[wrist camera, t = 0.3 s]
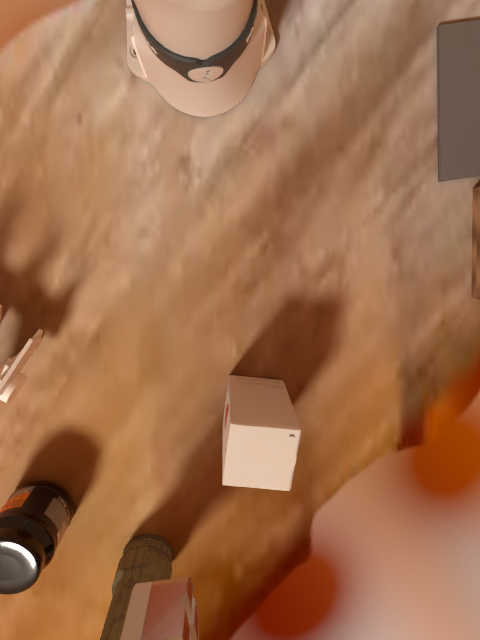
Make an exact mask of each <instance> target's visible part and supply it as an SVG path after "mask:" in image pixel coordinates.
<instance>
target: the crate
mask: <svg viewBox="0 0 480 640" xmlns="http://www.w3.org/2000/svg"><path fill="white" fill-rule="evenodd" d="M472 297H473V298H476V299H479V300H480V187H476V188H473V231H472Z"/></svg>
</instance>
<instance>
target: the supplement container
mask: <svg viewBox="0 0 480 640" xmlns="http://www.w3.org/2000/svg"><path fill="white" fill-rule="evenodd" d="M72 516H73V505H72V502H71V499H70V498H69V496H68V495H67V493H66V492H65V491H64V490H62V489H61V488H60V487H58V486H56V485H54V484H51V483H47V482H31V483H28V484H25V485H23V486H21V487H20V488H18V489H17V490H16V491H15V492H14V493H13V494H12V495H11V496H10V498H9V499H8V501H7V502H6V504H5V505H4V506H3V507H2V509H1V510H0V594H16V593H20V592H23V591H25V590H27V589H29V588H30V587H31V586H32V585H33V584H34V583H35V582H36V581H37V579H38V578H39V576H40V574H41V572H42V570H43V569H44V568H45V567H46V566H47V565H48V564H49V563H50V562H51V560H52V558H53V556H54V554H55V550H56V548H57V546H58V544H59V543H60V541H61V539H62V537H63V535H64V533H65V531H66V529H67V527H68V526H69V524H70V522H71V520H72Z"/></svg>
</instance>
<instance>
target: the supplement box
mask: <svg viewBox="0 0 480 640" xmlns="http://www.w3.org/2000/svg"><path fill="white" fill-rule="evenodd" d="M300 435H301V428H300V425H299V422H298V419H297V417H296V414H295V411H294V408H293V406H292V403H291V400H290V397H289V395H288V392H287V389H286V386H285V384H284V381H283V380H276V379H266V378H256V377H246V376H237V375H229V378H228V385H227V392H226V400H225V407H224V415H223V436H222V484H223V485H227V486H238V487H252V488H263V489H273V490H285V491H290V489H291V483H292V478H293V472H294V467H295V464H296V456H297V451H298V445H299V440H300Z"/></svg>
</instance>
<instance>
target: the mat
mask: <svg viewBox="0 0 480 640" xmlns="http://www.w3.org/2000/svg"><path fill="white" fill-rule="evenodd" d="M437 92H438V182H441V181H447V180H454V179H461V178H468V177H475V176H480V19H479V20H472V21H465V22H458V23H451V24H443V25H439V26H438V27H437Z"/></svg>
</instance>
